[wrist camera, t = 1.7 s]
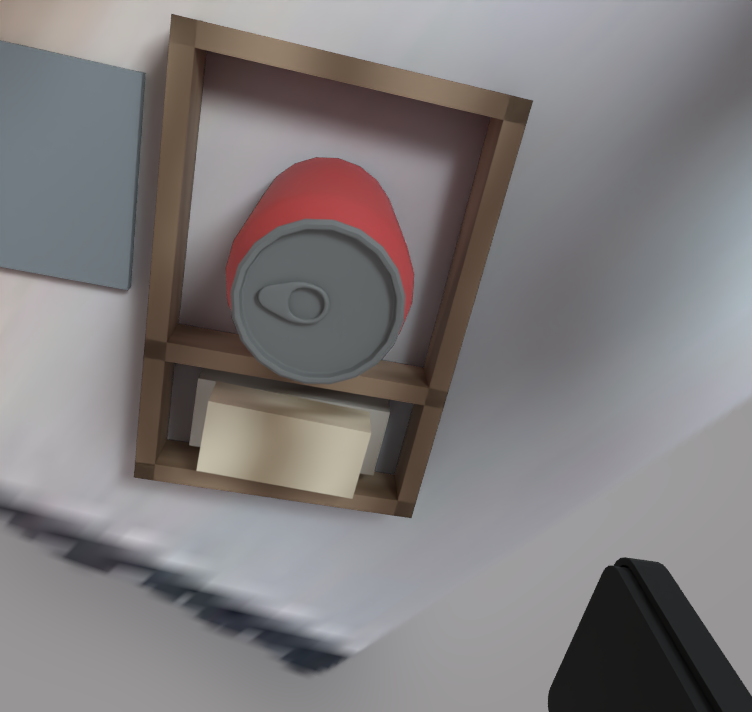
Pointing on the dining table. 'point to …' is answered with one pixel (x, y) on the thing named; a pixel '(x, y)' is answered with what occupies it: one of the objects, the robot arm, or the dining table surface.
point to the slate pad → (68, 165)
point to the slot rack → (226, 349)
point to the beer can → (320, 274)
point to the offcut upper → (283, 440)
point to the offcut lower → (356, 401)
